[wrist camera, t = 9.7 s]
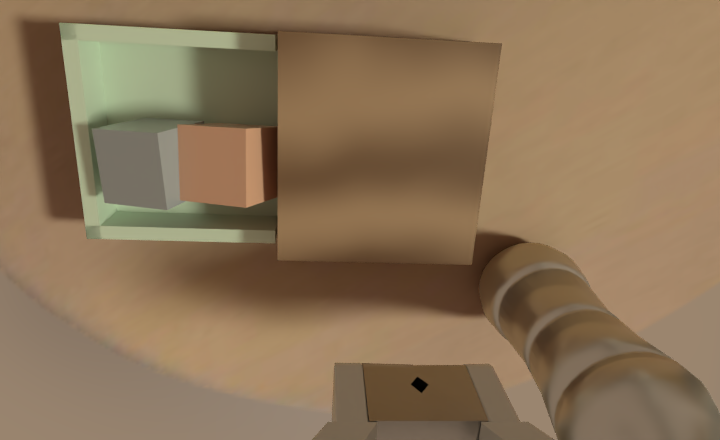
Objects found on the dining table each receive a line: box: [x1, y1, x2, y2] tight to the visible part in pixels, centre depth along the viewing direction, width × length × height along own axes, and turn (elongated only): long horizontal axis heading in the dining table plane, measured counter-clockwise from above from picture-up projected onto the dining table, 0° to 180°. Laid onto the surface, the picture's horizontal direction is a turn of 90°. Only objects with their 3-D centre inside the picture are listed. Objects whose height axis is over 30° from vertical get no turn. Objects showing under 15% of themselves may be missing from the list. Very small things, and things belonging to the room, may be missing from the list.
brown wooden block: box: [277, 31, 502, 265], centre depth 30 cm, size 12×11×5 cm
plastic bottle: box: [479, 243, 720, 440], centre depth 26 cm, size 6×7×20 cm
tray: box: [59, 23, 278, 243], centre depth 30 cm, size 12×11×3 cm
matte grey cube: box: [92, 118, 204, 210], centre depth 29 cm, size 4×4×4 cm
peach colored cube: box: [177, 123, 278, 208], centre depth 29 cm, size 4×4×4 cm
